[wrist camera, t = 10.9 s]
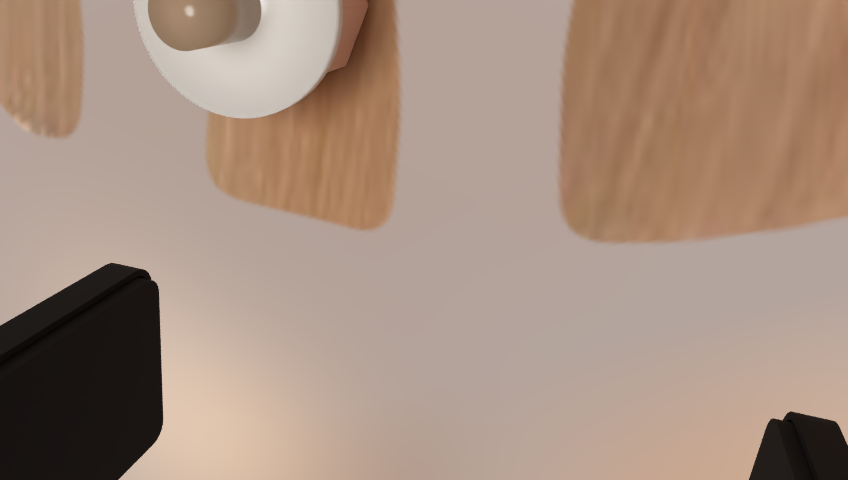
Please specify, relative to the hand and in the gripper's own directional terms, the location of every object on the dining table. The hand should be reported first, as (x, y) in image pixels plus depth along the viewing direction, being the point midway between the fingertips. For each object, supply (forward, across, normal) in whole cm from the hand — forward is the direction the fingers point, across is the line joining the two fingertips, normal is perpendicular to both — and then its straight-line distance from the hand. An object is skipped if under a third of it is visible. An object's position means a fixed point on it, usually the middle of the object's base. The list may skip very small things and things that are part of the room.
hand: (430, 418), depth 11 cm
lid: (+26, +17, -3) cm, 31 cm away
